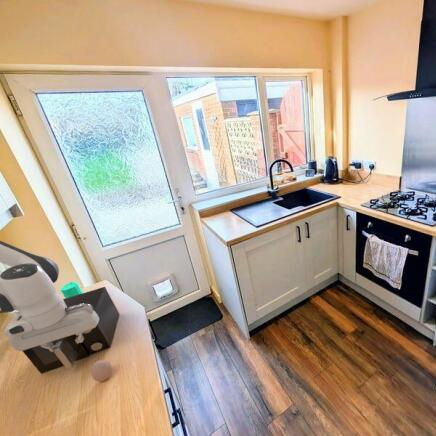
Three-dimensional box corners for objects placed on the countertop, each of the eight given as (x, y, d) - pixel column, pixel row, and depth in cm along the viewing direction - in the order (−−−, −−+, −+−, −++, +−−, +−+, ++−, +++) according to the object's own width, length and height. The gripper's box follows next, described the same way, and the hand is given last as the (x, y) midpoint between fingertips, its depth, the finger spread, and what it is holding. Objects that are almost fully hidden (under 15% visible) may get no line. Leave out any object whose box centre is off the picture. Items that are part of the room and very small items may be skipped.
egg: (108, 384, 76) (99, 370, 73) (92, 386, 76) (82, 372, 73) (119, 368, 80) (110, 354, 77) (103, 369, 80) (94, 356, 78)
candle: (79, 309, 109) (66, 288, 104) (68, 308, 110) (54, 287, 105) (91, 299, 114) (79, 278, 109) (80, 299, 115) (68, 278, 110)
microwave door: (84, 370, 81) (62, 339, 75) (32, 390, 76) (4, 359, 70) (90, 352, 87) (71, 322, 81) (43, 369, 83) (18, 339, 76)
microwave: (110, 349, 87) (91, 318, 81) (40, 375, 81) (14, 344, 75) (119, 314, 103) (104, 286, 97) (62, 334, 96) (41, 305, 90)
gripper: (92, 295, 79) (108, 326, 85) (9, 318, 72) (33, 349, 78) (85, 308, 73) (103, 340, 79) (-4, 334, 67) (22, 367, 72)
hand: (68, 345), depth 78 cm, fingers open, 5 cm apart
